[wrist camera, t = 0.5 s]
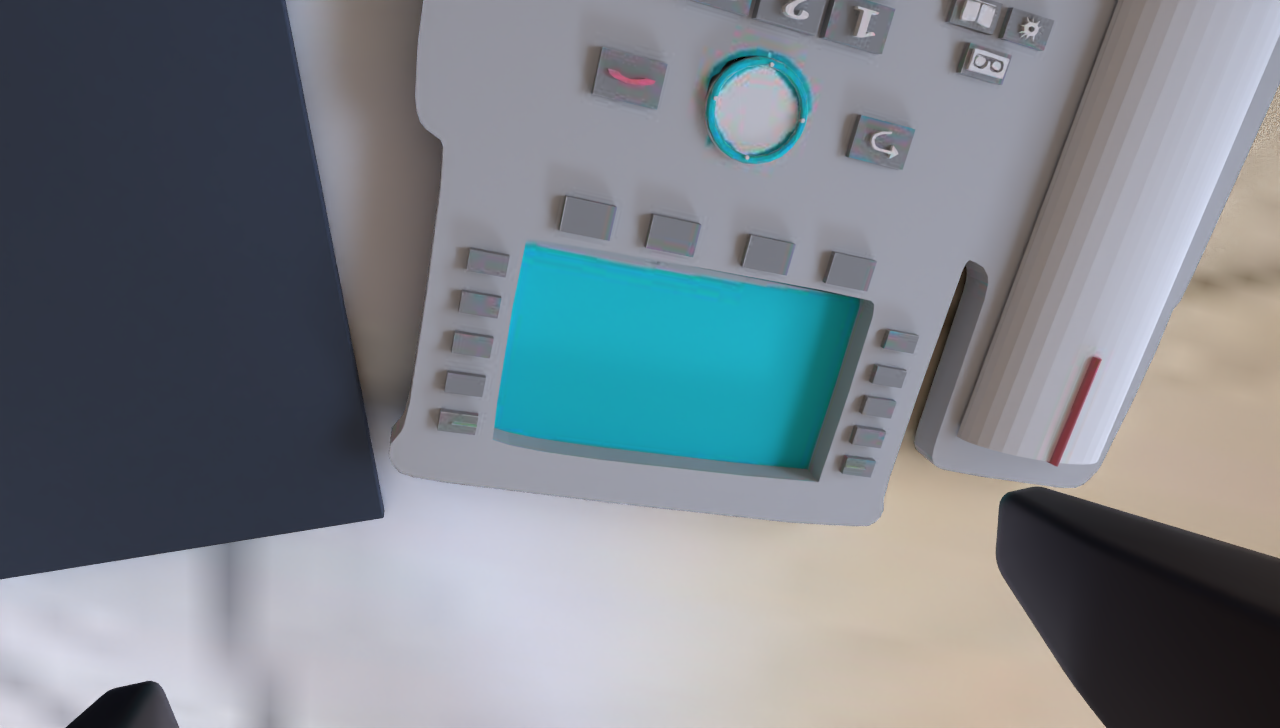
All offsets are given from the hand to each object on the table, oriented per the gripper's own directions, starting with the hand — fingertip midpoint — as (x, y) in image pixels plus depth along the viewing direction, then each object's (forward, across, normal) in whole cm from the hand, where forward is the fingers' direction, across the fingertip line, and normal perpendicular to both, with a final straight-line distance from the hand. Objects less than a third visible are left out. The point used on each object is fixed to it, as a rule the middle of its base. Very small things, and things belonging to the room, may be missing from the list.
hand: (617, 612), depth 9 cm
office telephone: (+15, -9, -1) cm, 18 cm away
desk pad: (+15, +11, -2) cm, 18 cm away
